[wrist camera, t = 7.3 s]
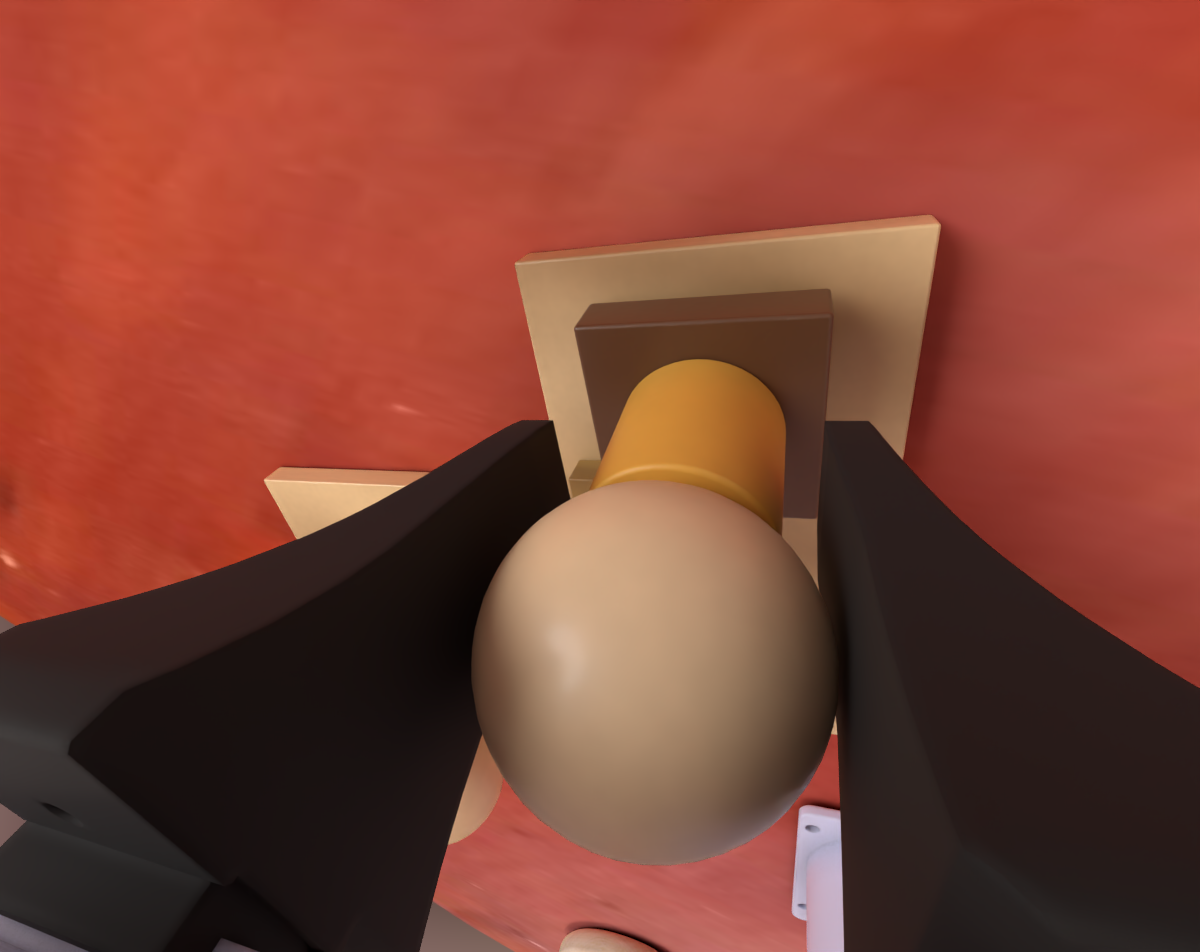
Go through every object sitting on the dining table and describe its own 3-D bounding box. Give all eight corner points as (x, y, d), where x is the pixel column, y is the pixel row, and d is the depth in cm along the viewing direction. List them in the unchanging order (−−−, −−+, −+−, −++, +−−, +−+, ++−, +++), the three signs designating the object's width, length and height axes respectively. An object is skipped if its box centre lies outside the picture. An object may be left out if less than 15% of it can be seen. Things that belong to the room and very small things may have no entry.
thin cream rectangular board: (579, 760, 25) (567, 800, 24) (421, 729, 27) (402, 763, 26) (493, 473, 17) (466, 508, 15) (279, 466, 19) (241, 496, 18)
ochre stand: (855, 716, 18) (860, 766, 17) (616, 680, 21) (604, 723, 20) (933, 213, 10) (953, 235, 9) (527, 252, 13) (495, 274, 11)
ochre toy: (832, 974, 7) (883, 786, 4) (473, 875, 8) (322, 686, 5) (816, 485, 13) (832, 286, 10) (621, 478, 14) (589, 301, 12)
